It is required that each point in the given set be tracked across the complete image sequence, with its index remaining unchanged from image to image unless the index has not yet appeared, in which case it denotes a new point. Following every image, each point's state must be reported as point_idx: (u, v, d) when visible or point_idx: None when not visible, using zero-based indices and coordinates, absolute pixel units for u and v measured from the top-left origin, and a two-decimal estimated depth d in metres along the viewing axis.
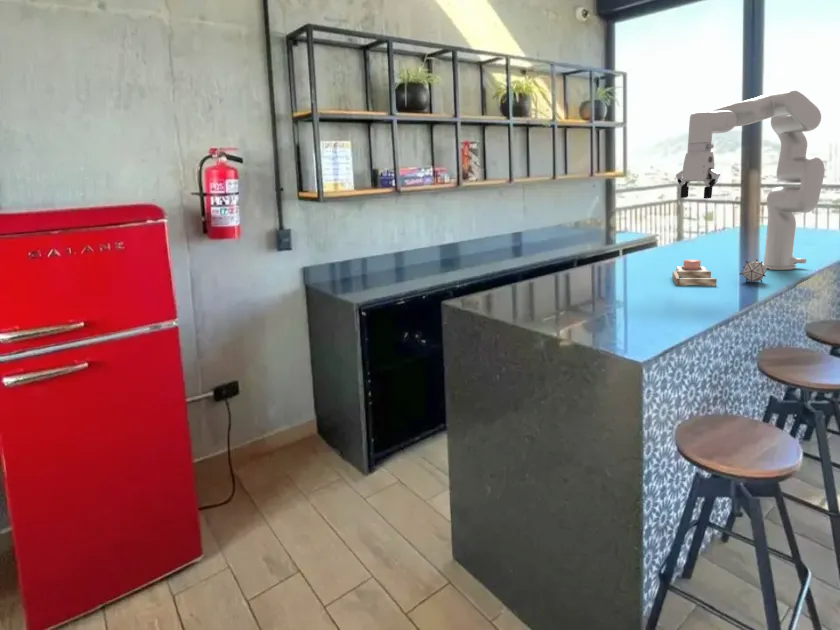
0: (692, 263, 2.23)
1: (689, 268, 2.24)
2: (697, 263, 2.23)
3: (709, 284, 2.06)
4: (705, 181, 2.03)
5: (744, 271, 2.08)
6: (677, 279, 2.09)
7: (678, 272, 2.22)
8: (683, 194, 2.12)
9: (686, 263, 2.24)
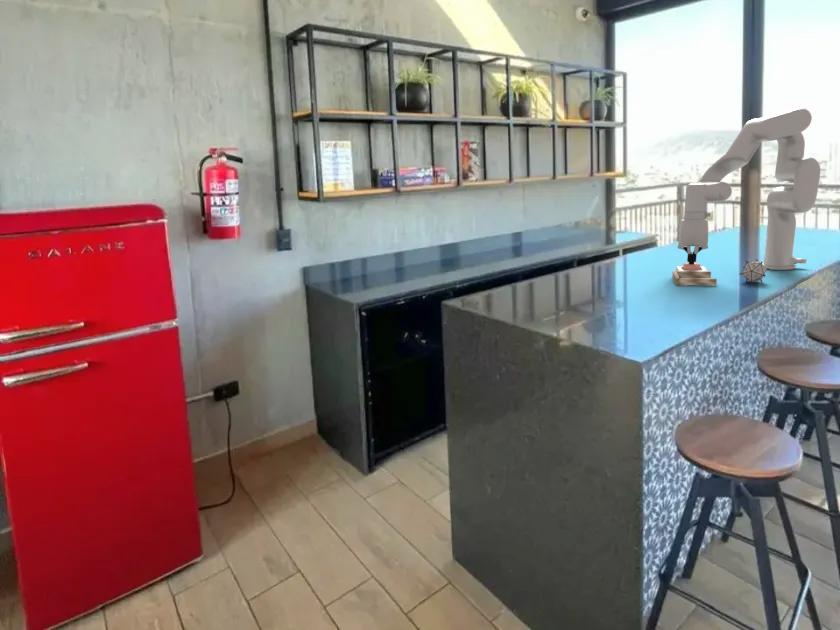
0: (692, 266, 2.23)
1: None
2: (697, 266, 2.23)
3: (709, 284, 2.06)
4: (697, 248, 2.22)
5: (744, 271, 2.08)
6: (677, 279, 2.09)
7: (678, 272, 2.22)
8: None
9: (686, 266, 2.25)
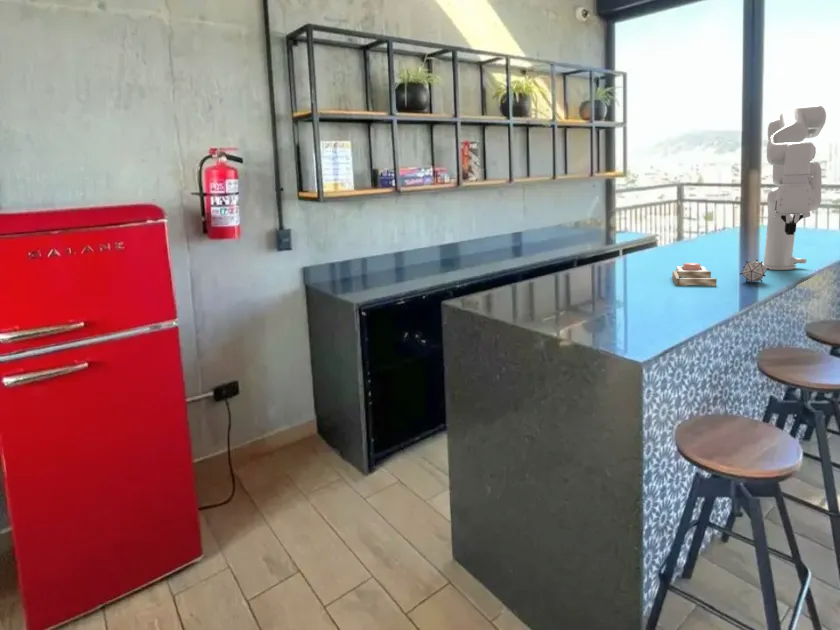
0: (692, 266, 2.23)
1: None
2: (697, 266, 2.23)
3: (709, 284, 2.06)
4: (797, 216, 1.98)
5: (744, 271, 2.08)
6: (677, 279, 2.09)
7: (678, 272, 2.22)
8: None
9: (686, 266, 2.25)
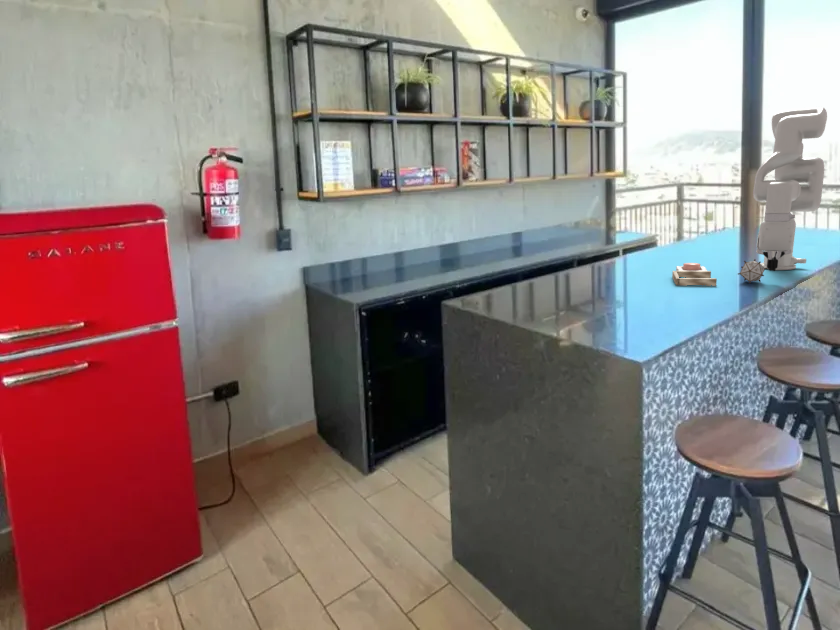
0: (692, 266, 2.23)
1: None
2: (697, 266, 2.23)
3: (709, 284, 2.06)
4: (779, 253, 2.03)
5: (742, 271, 2.08)
6: (677, 279, 2.09)
7: (678, 272, 2.22)
8: None
9: (686, 266, 2.25)
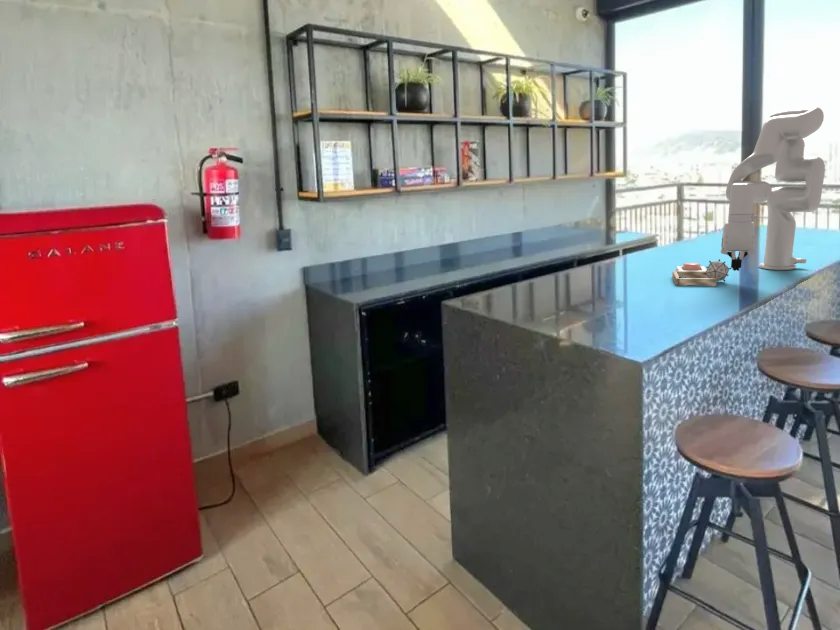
0: (692, 266, 2.23)
1: None
2: (697, 266, 2.23)
3: (709, 284, 2.06)
4: (742, 253, 2.06)
5: (707, 271, 2.11)
6: (677, 279, 2.09)
7: (678, 272, 2.22)
8: None
9: (686, 266, 2.25)
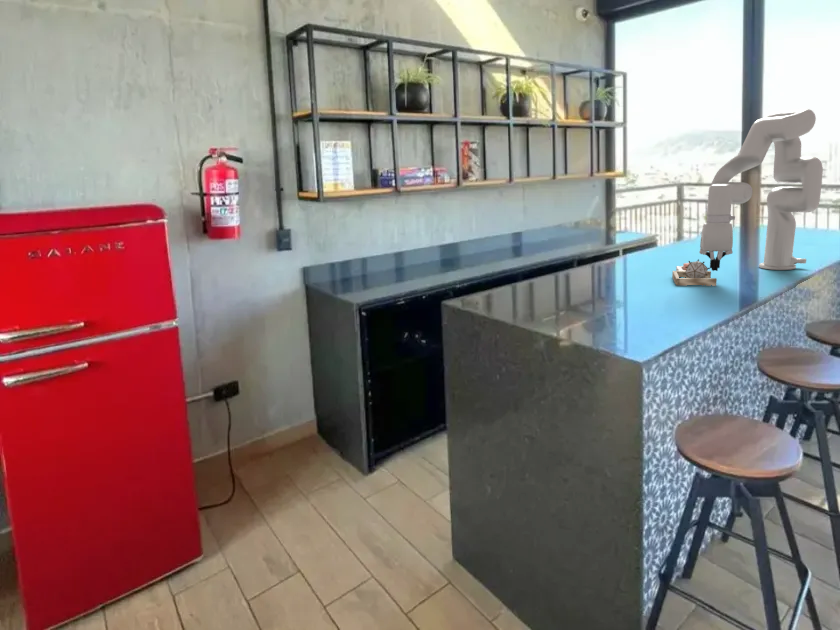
0: None
1: None
2: None
3: (709, 284, 2.06)
4: (720, 254, 2.09)
5: (687, 271, 2.13)
6: (677, 279, 2.09)
7: (678, 272, 2.22)
8: None
9: (686, 266, 2.25)
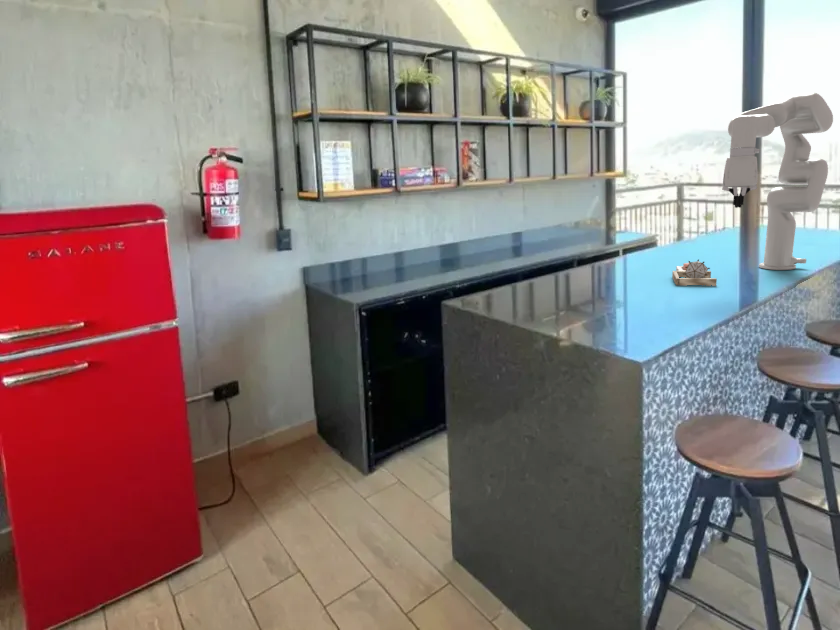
0: None
1: None
2: None
3: (709, 284, 2.06)
4: (744, 189, 2.01)
5: (687, 271, 2.13)
6: (677, 279, 2.09)
7: (678, 272, 2.22)
8: None
9: (686, 266, 2.25)
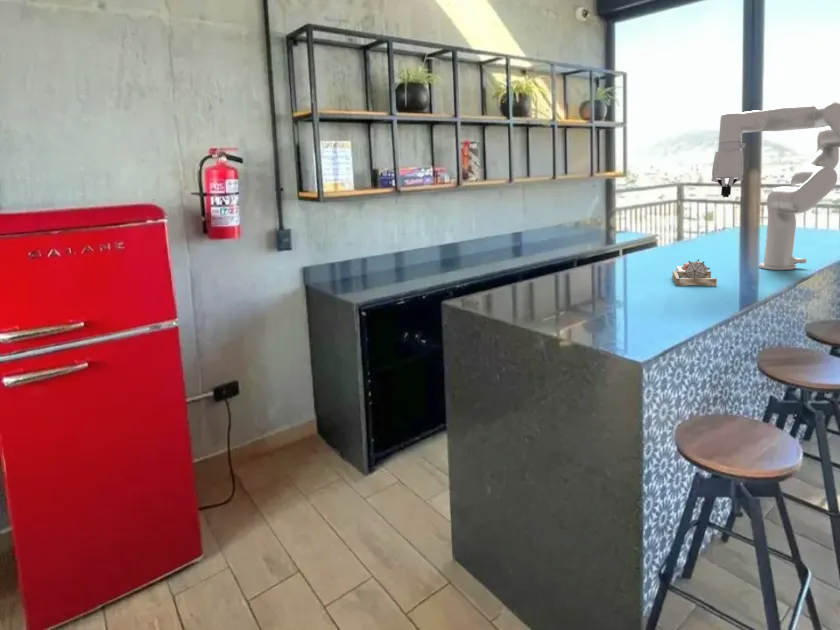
0: None
1: None
2: None
3: (709, 284, 2.06)
4: (731, 180, 2.19)
5: (687, 271, 2.13)
6: (677, 279, 2.09)
7: (678, 272, 2.22)
8: (726, 194, 2.21)
9: (686, 266, 2.25)
